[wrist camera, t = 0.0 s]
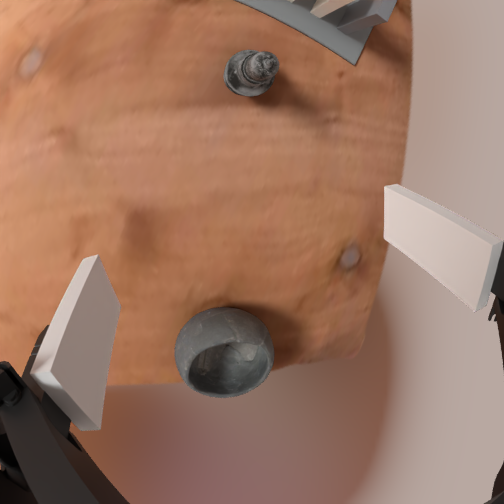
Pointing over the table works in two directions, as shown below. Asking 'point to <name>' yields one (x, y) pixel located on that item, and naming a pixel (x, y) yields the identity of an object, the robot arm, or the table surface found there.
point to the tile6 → (365, 15)
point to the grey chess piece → (250, 72)
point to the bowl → (224, 352)
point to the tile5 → (327, 6)
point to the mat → (315, 25)
